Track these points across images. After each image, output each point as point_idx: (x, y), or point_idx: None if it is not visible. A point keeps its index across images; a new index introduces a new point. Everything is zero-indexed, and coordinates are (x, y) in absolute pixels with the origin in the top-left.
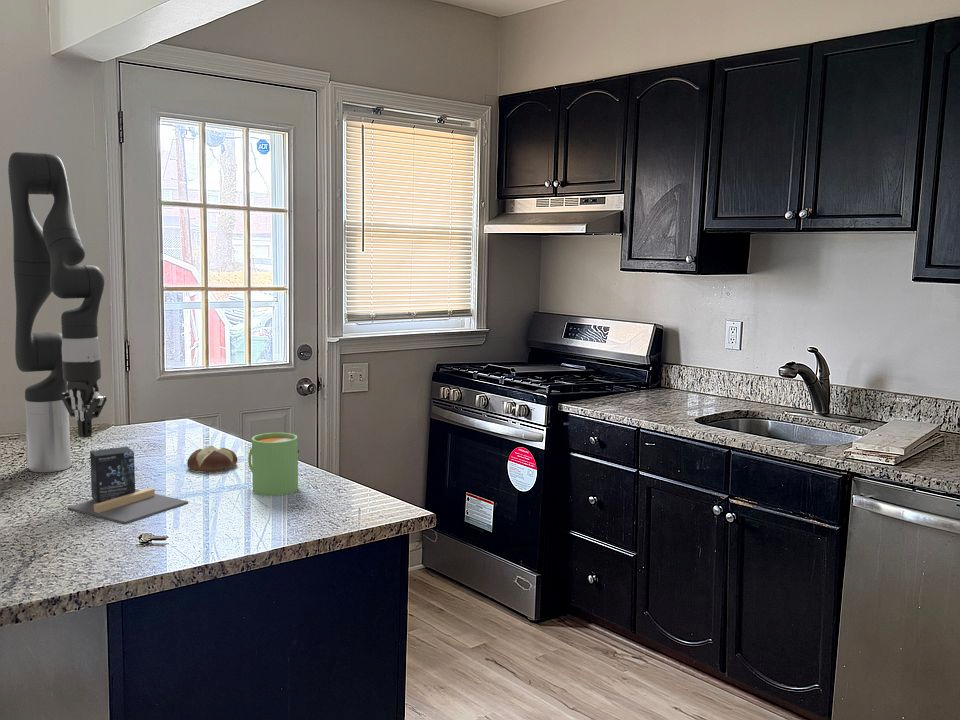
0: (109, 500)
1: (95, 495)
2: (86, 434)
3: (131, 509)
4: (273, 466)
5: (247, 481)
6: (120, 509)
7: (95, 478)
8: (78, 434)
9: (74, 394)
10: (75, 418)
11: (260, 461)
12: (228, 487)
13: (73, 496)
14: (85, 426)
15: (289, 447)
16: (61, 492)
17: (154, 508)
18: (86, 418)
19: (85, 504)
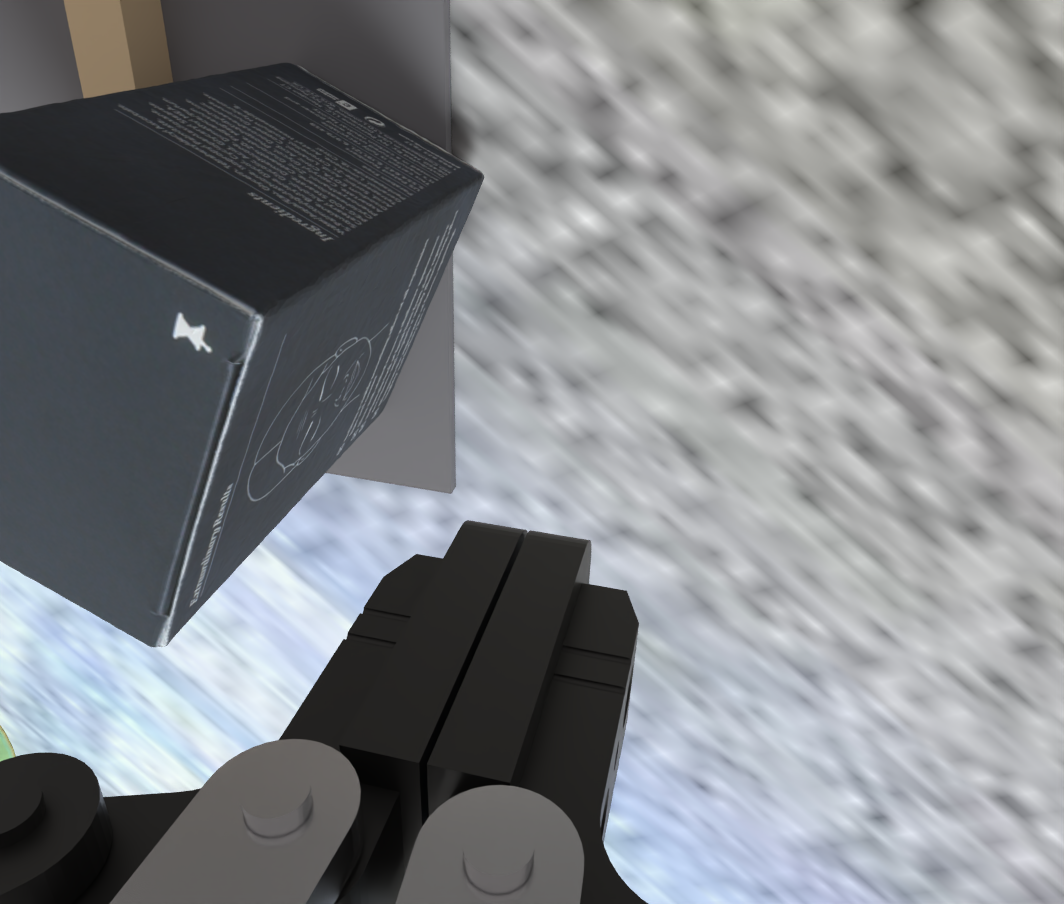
0: (118, 60)
1: (321, 100)
2: (399, 570)
3: (3, 102)
4: None
5: (112, 793)
6: (53, 57)
7: (199, 110)
8: (582, 558)
9: None
10: (578, 848)
11: None
12: (84, 696)
13: (730, 173)
14: (334, 672)
15: None
16: (947, 214)
17: None
18: (79, 777)
19: (375, 3)
